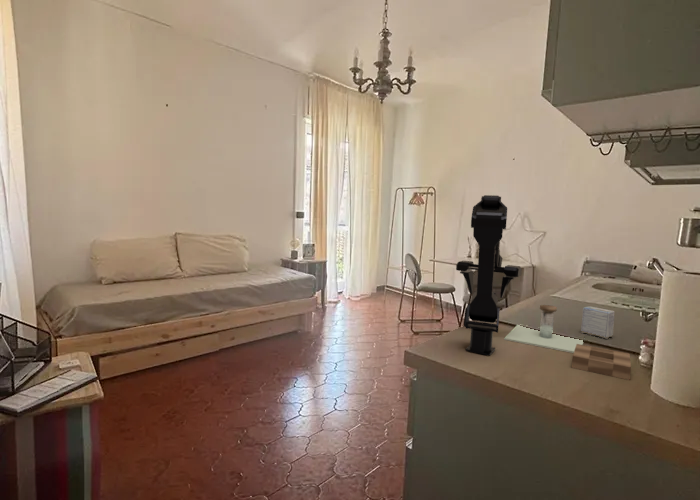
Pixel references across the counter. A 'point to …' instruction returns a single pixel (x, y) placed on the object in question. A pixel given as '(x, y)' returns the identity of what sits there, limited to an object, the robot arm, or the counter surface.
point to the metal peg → (547, 321)
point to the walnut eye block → (602, 361)
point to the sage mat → (542, 339)
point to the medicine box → (598, 321)
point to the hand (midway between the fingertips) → (486, 295)
